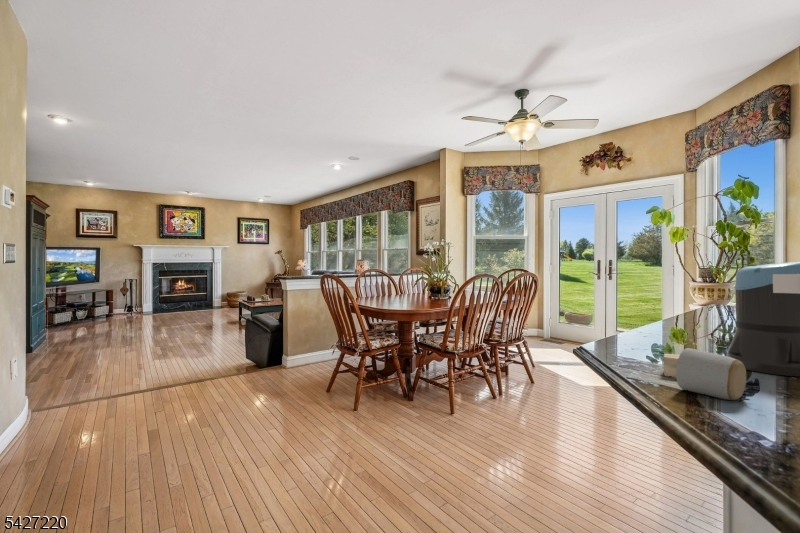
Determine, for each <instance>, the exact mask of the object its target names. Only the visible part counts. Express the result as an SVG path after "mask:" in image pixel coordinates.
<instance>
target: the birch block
mask: <svg viewBox="0 0 800 533" xmlns="http://www.w3.org/2000/svg"><path fill="white" fill-rule="evenodd" d="M679 356H680V354H672V353H664V354H663V376H664V375H665V376H664V377H669V376H672V377H671V378H676V367H677V361H678V358H679Z"/></svg>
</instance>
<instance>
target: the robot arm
mask: <svg viewBox="0 0 800 533" xmlns="http://www.w3.org/2000/svg"><path fill="white" fill-rule="evenodd" d="M734 290H735V291H734V292H735V325H736V326H735V328H736V329H735V333H734V334H733V338H732V341H731V342H730V345H729V347H728V349H727V351H726V352H727V353H726V356H727V357H731V358H734V359H737V360H739V361H741V362H742V363H743V364H744V366H745V368H746V371H747V370H748V371H751V372H752V371H753V372H758V373H763V374H770V375H771V374H772V375H778V376H789V377H800V261H792V262H791V261H789V262H780V263H766V264H759V265H750V266H745V267H742V268H740V269H738V270H737V272H736V274H735V285H734Z"/></svg>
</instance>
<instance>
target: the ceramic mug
mask: <svg viewBox="0 0 800 533" xmlns="http://www.w3.org/2000/svg"><path fill="white" fill-rule="evenodd" d="M679 355H680V356H679V358H678V361H677V367H676V377H675V380H676V383H677V386H678V387H679V388H680V389H681V390H683V391H687V390H688V392H693V393H697V394H700V395H704V394H705V396H710V397H713V398H718V399H721V400H727V401H736V400H739V399H740V398H741V397H742V396H743V394H744V392H745V388H746V386H747V369H746V368H745V366H744V364H743V363H742V362H741V361H739V360H737V359H734V358H731V357H727V355H722V354H717V353H714V352H708V351H704V350H700V349H695V348H691V347H687V348H684V349H683V350H682V351H681V352H680V354H679Z"/></svg>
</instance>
